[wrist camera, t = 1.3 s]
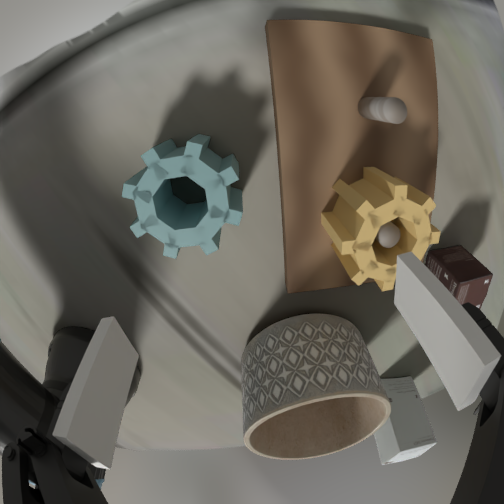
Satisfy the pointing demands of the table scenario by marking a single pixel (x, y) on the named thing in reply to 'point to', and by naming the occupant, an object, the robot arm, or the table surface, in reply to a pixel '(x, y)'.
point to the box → (460, 274)
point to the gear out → (378, 225)
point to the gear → (175, 210)
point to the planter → (310, 388)
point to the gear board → (345, 129)
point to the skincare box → (404, 423)
